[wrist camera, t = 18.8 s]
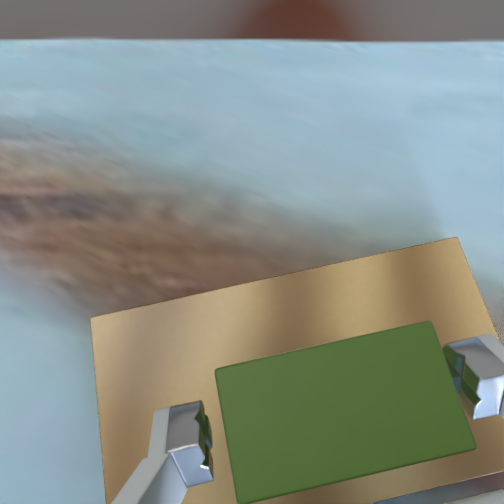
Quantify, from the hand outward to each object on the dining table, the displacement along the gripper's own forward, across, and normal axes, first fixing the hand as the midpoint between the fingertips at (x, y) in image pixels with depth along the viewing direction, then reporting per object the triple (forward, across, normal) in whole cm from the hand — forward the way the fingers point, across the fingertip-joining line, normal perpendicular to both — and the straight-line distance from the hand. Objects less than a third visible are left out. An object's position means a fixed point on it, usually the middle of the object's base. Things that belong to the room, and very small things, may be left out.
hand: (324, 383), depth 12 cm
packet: (+4, 0, +4) cm, 6 cm away
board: (+5, 0, +5) cm, 7 cm away
